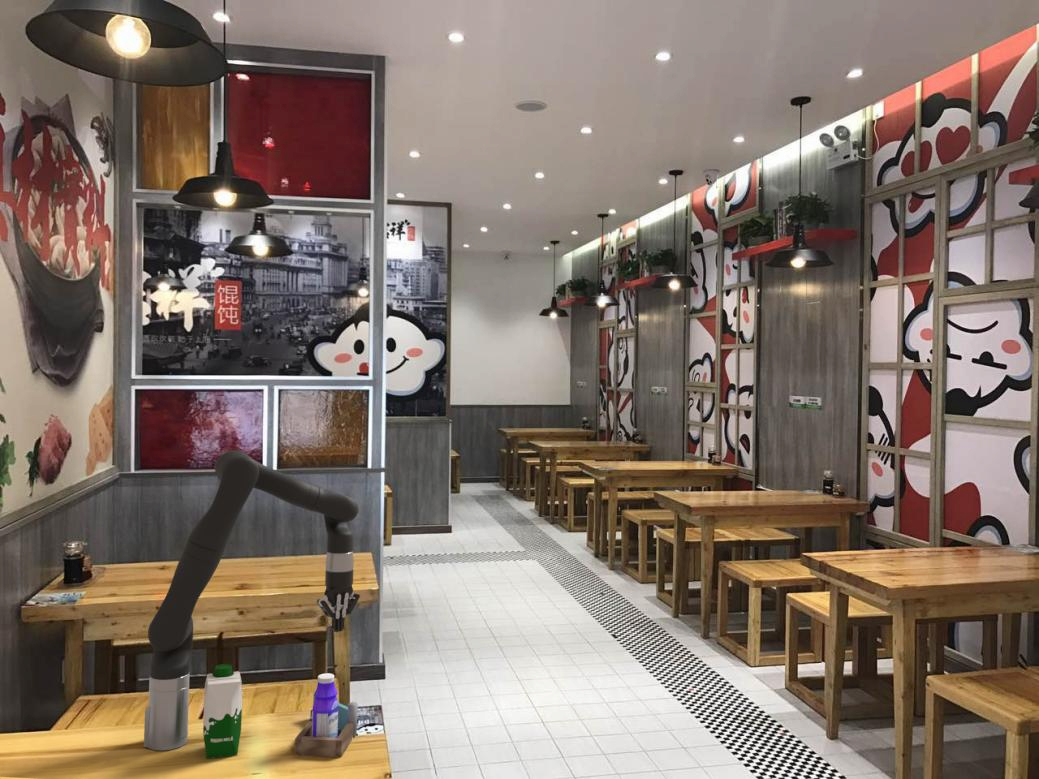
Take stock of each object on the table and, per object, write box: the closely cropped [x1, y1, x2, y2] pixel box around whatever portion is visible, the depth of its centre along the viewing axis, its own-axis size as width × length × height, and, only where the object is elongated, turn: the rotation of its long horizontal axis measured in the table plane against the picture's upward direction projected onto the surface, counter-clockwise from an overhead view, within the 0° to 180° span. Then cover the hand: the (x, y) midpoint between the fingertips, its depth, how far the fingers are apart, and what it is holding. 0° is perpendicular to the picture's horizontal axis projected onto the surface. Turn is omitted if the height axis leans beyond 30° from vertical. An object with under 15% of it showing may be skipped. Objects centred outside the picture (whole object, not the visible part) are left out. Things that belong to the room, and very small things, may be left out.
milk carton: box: [202, 663, 243, 760], centre depth 201 cm, size 9×9×20 cm
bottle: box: [311, 672, 339, 738], centre depth 205 cm, size 7×6×17 cm
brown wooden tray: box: [294, 720, 354, 758], centre depth 204 cm, size 12×11×4 cm
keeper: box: [312, 695, 358, 738], centre depth 217 cm, size 18×2×8 cm, turn 47°
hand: (337, 631), depth 225 cm, fingers closed
